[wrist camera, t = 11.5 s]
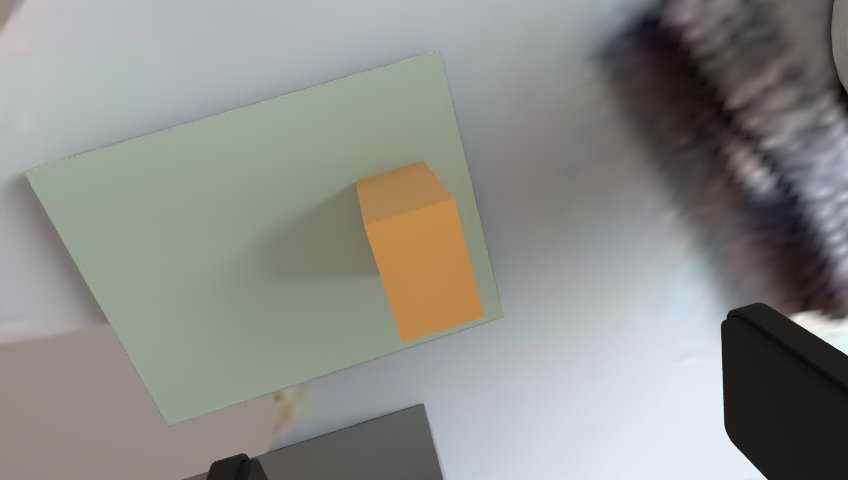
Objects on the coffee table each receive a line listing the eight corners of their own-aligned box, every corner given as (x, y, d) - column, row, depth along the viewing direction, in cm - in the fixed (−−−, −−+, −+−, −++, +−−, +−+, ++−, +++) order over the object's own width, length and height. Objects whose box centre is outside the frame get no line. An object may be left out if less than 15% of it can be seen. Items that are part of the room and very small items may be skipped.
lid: (430, 51, 23) (480, 52, 15) (490, 297, 28) (551, 391, 20) (51, 161, 22) (-95, 220, 14) (180, 397, 27) (120, 536, 19)
